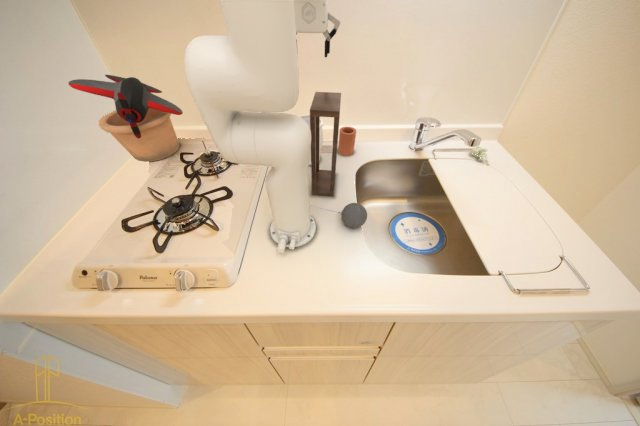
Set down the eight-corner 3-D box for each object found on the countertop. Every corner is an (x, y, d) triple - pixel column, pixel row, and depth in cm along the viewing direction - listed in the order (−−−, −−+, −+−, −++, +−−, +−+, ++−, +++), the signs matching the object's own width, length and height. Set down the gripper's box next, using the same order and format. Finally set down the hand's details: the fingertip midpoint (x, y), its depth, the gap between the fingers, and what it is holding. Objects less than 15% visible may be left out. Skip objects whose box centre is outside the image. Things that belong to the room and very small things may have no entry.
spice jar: (353, 156, 86) (356, 134, 79) (337, 155, 86) (339, 133, 79) (353, 147, 90) (356, 127, 83) (338, 147, 90) (340, 126, 84)
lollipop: (292, 226, 59) (301, 236, 65) (367, 220, 54) (368, 231, 60) (295, 197, 63) (303, 208, 69) (364, 188, 58) (366, 201, 64)
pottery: (129, 173, 77) (98, 135, 66) (123, 147, 89) (97, 111, 79) (192, 153, 86) (174, 117, 75) (179, 132, 98) (162, 98, 87)
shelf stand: (333, 196, 70) (339, 111, 50) (312, 195, 70) (309, 109, 50) (335, 174, 78) (341, 92, 58) (316, 172, 78) (315, 91, 58)
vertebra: (484, 157, 79) (494, 149, 78) (468, 147, 83) (477, 140, 83) (483, 166, 84) (492, 159, 83) (468, 156, 88) (476, 150, 88)
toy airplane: (72, 35, 63) (82, 84, 72) (52, 78, 52) (67, 129, 62) (183, 74, 79) (179, 110, 89) (185, 113, 68) (181, 149, 78)
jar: (292, 155, 86) (288, 117, 75) (315, 149, 89) (315, 112, 78) (302, 169, 79) (299, 130, 68) (327, 163, 82) (328, 124, 71)
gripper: (272, -26, 53) (281, 58, 66) (342, -25, 52) (337, 59, 65) (279, -26, 58) (286, 52, 71) (343, -25, 57) (338, 53, 70)
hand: (310, 55), depth 68 cm, fingers open, 9 cm apart
